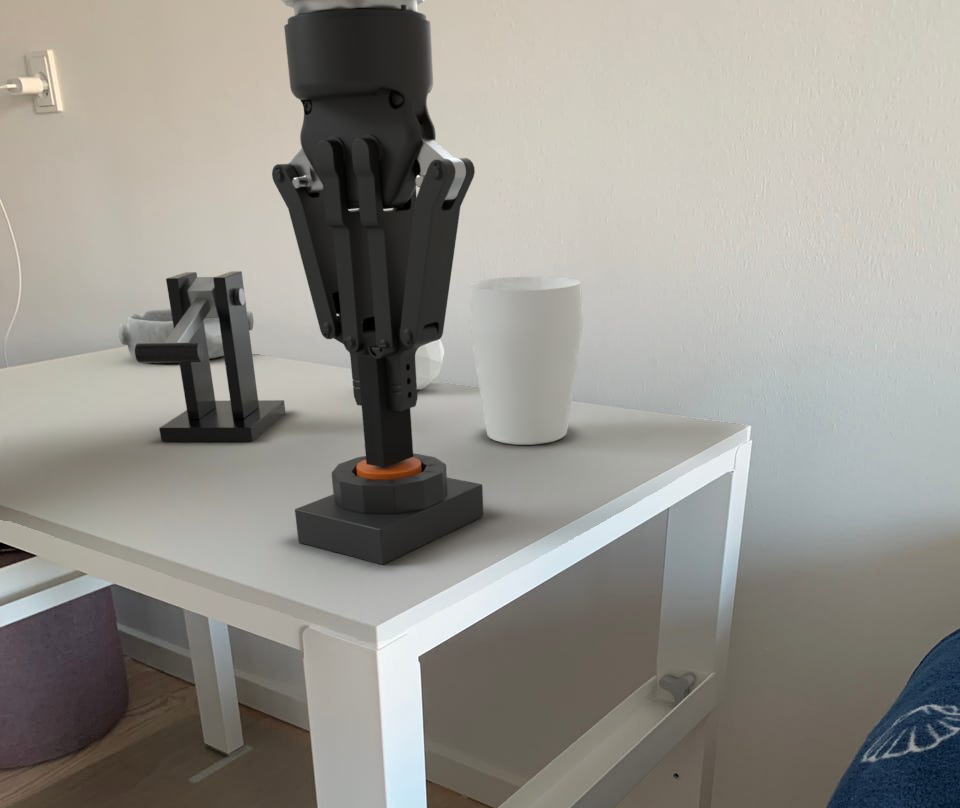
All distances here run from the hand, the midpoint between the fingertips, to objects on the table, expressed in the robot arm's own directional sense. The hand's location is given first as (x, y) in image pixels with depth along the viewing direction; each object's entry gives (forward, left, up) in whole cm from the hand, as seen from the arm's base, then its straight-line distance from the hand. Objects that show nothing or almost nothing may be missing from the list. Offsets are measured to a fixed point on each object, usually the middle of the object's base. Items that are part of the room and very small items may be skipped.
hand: (390, 460), depth 62 cm
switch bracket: (-20, +26, -5) cm, 33 cm away
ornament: (-6, +41, -5) cm, 42 cm away
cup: (+7, +23, -5) cm, 25 cm away
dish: (-37, +61, -5) cm, 72 cm away
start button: (0, 0, -2) cm, 2 cm away
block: (0, 0, -5) cm, 5 cm away
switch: (-20, +22, +4) cm, 30 cm away
